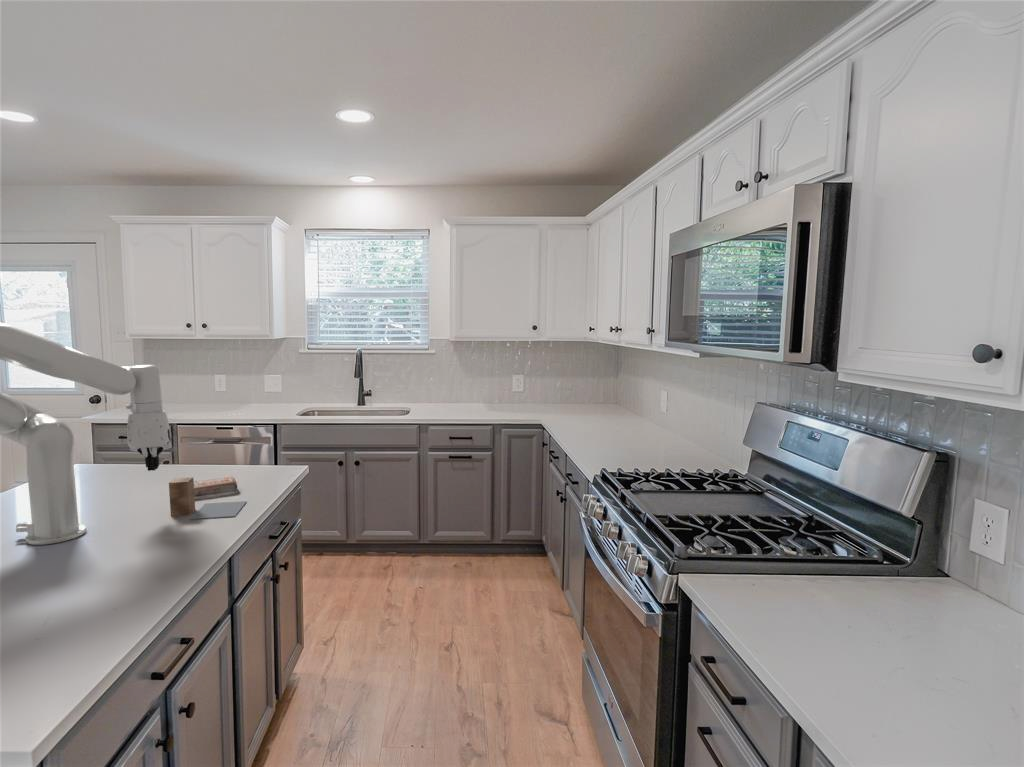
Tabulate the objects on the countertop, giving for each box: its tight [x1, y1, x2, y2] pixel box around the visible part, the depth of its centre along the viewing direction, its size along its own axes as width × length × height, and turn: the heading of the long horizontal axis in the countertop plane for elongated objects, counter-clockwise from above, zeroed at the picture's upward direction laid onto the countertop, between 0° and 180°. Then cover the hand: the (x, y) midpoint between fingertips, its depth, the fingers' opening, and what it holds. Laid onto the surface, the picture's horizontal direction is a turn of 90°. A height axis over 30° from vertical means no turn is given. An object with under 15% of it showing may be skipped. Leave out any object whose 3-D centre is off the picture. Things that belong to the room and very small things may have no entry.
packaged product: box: [194, 476, 239, 501], centre depth 188 cm, size 18×5×10 cm
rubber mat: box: [189, 500, 248, 521], centre depth 172 cm, size 12×14×1 cm
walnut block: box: [168, 476, 196, 517], centre depth 170 cm, size 5×5×10 cm
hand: (153, 469), depth 168 cm, fingers closed
